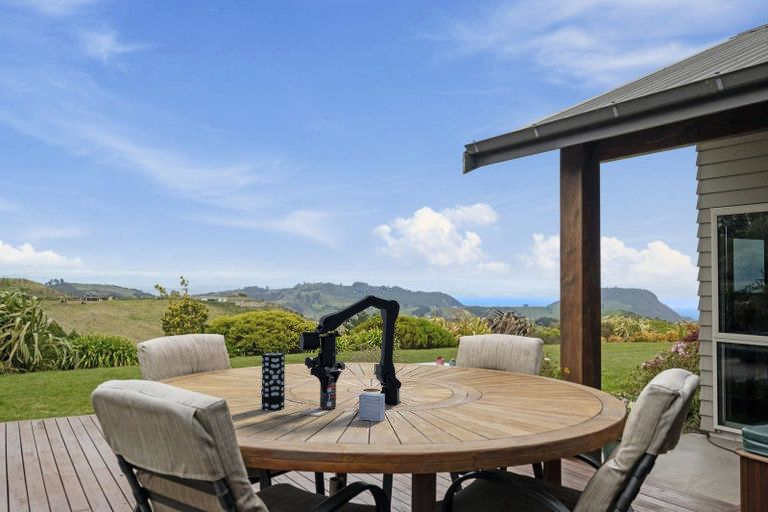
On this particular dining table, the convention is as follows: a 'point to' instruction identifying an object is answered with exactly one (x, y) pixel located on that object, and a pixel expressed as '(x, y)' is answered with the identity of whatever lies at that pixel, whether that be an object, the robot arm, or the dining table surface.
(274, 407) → the spotted tube
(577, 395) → the dining table surface
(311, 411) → the coaster
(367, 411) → the medicine box
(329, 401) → the supplement bottle
